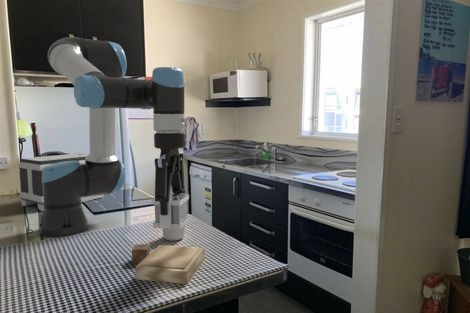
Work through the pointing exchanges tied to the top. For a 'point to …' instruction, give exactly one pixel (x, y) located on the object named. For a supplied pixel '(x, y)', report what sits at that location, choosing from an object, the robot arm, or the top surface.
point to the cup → (173, 233)
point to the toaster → (33, 177)
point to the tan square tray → (170, 264)
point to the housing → (174, 211)
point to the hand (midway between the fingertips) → (171, 222)
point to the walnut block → (140, 252)
